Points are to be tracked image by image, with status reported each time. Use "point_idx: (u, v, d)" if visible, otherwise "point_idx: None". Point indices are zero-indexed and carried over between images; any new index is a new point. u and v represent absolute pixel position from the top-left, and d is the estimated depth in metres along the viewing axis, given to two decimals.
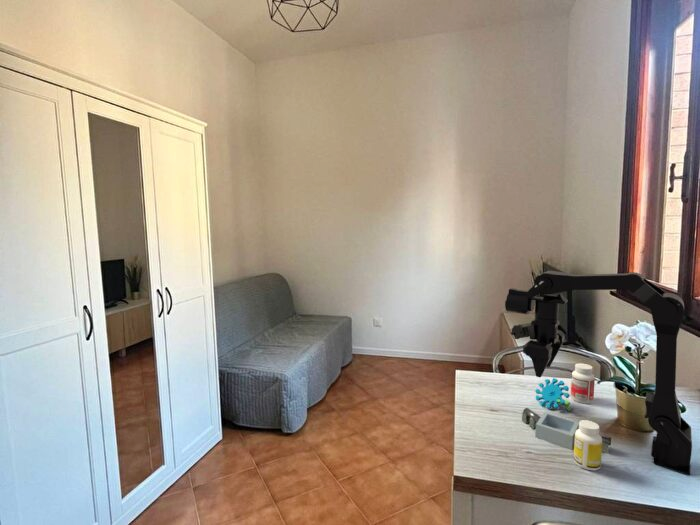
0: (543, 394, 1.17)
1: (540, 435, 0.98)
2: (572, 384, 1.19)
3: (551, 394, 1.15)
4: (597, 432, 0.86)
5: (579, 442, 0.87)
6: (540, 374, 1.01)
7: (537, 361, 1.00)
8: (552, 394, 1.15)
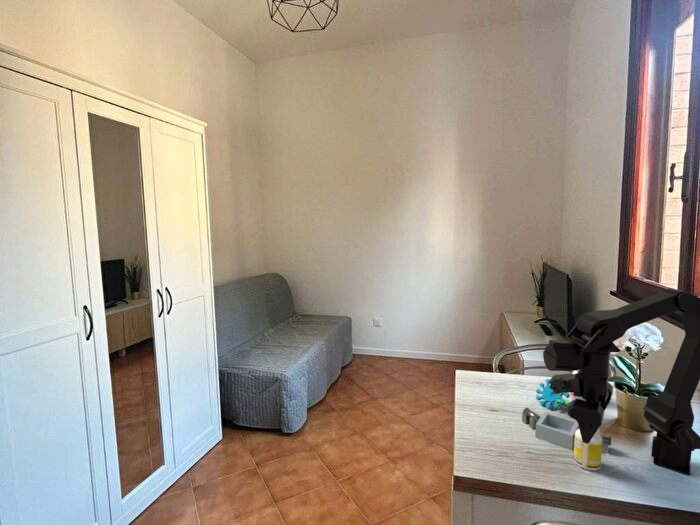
0: (543, 394, 1.17)
1: (540, 435, 0.98)
2: None
3: (551, 394, 1.15)
4: (597, 432, 0.86)
5: (579, 442, 0.87)
6: (588, 440, 0.83)
7: (584, 425, 0.83)
8: (552, 394, 1.15)
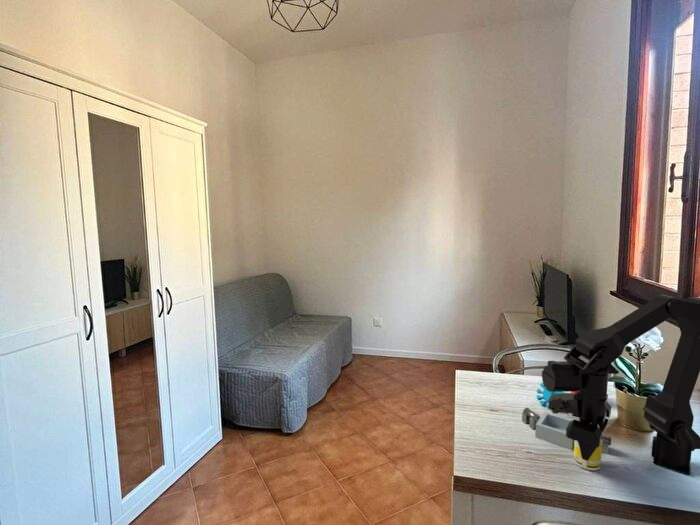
0: (544, 394, 1.17)
1: (540, 435, 0.98)
2: None
3: None
4: None
5: None
6: (587, 457, 0.85)
7: (584, 442, 0.85)
8: None
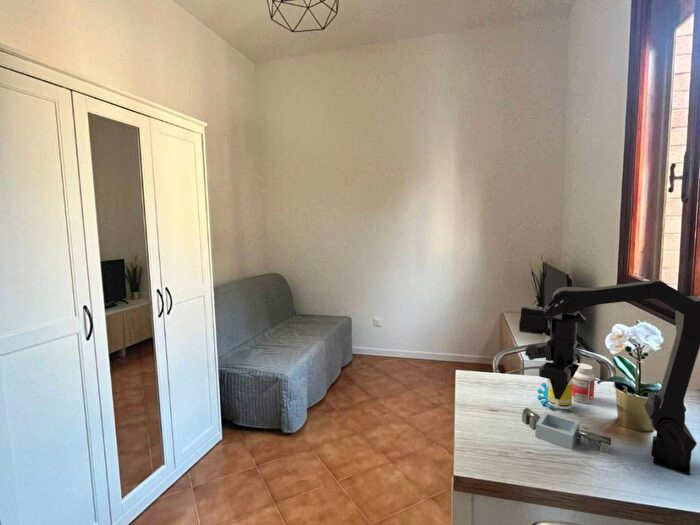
0: (545, 394, 1.17)
1: (540, 435, 0.98)
2: (572, 384, 1.19)
3: None
4: None
5: None
6: (559, 396, 0.95)
7: (556, 382, 0.95)
8: None
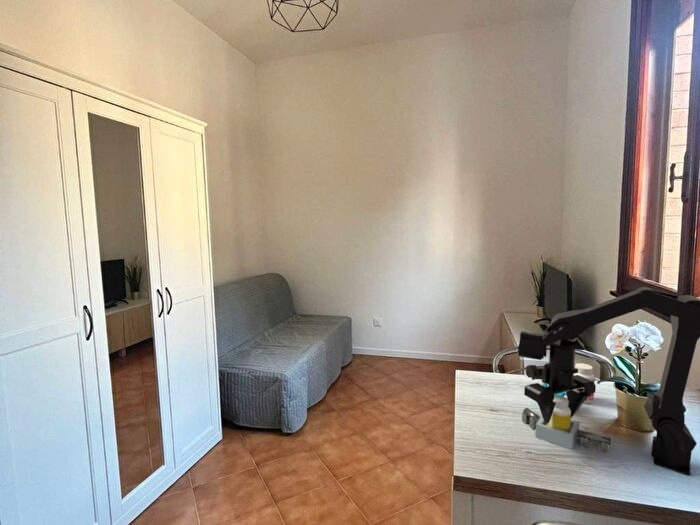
0: None
1: (540, 435, 0.98)
2: None
3: None
4: (563, 405, 0.97)
5: None
6: (546, 420, 0.97)
7: (543, 406, 0.97)
8: (554, 394, 1.15)
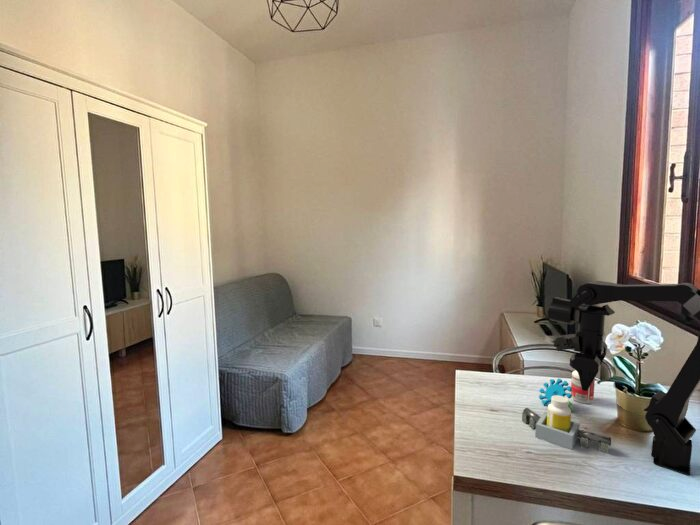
0: (546, 393, 1.17)
1: (540, 435, 0.98)
2: (572, 384, 1.19)
3: (554, 394, 1.15)
4: (563, 405, 0.97)
5: (548, 412, 0.99)
6: (587, 387, 0.98)
7: (584, 374, 0.97)
8: (555, 394, 1.15)
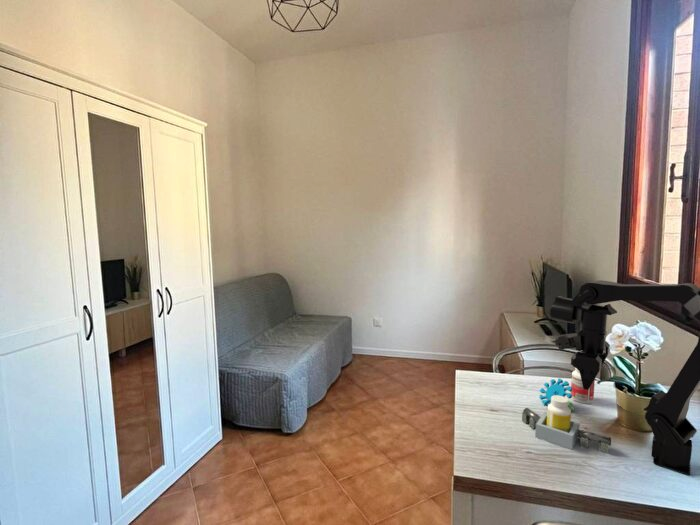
0: (547, 393, 1.17)
1: (540, 435, 0.98)
2: (572, 384, 1.19)
3: (554, 394, 1.15)
4: (563, 405, 0.97)
5: (547, 412, 0.99)
6: (588, 386, 0.98)
7: (585, 373, 0.98)
8: (555, 394, 1.15)
